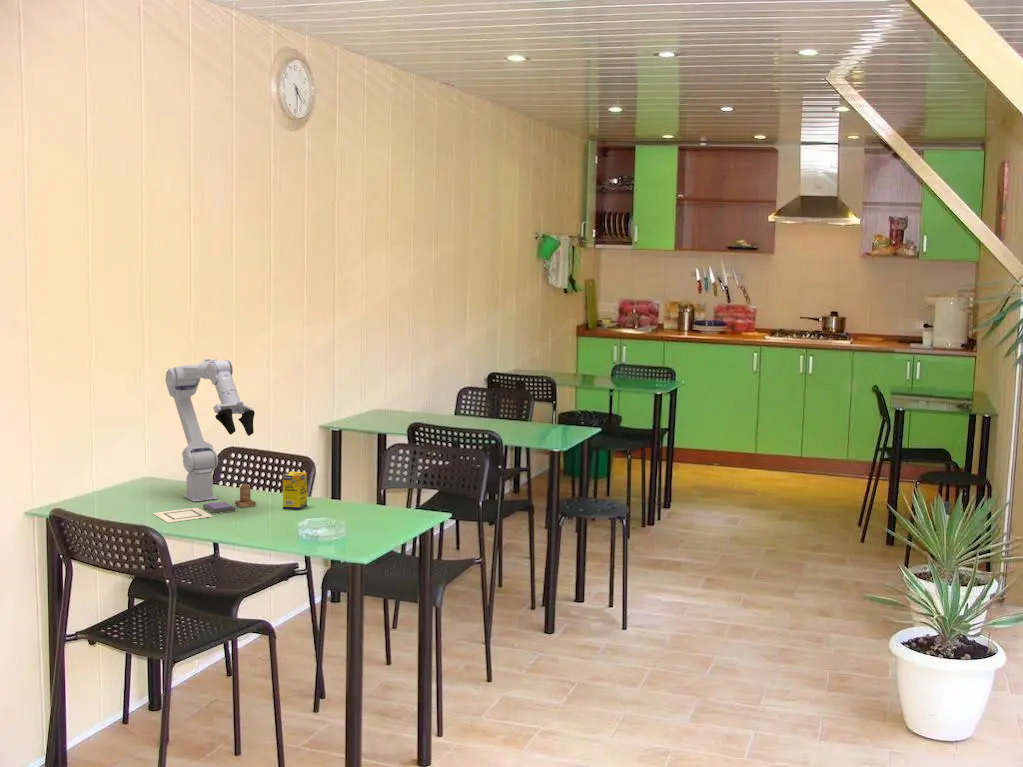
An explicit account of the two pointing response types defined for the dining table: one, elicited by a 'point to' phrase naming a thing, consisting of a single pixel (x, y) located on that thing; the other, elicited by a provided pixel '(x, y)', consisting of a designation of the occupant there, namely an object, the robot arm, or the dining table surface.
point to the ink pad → (219, 507)
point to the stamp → (245, 497)
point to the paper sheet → (182, 515)
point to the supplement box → (295, 490)
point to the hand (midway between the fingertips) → (241, 433)
